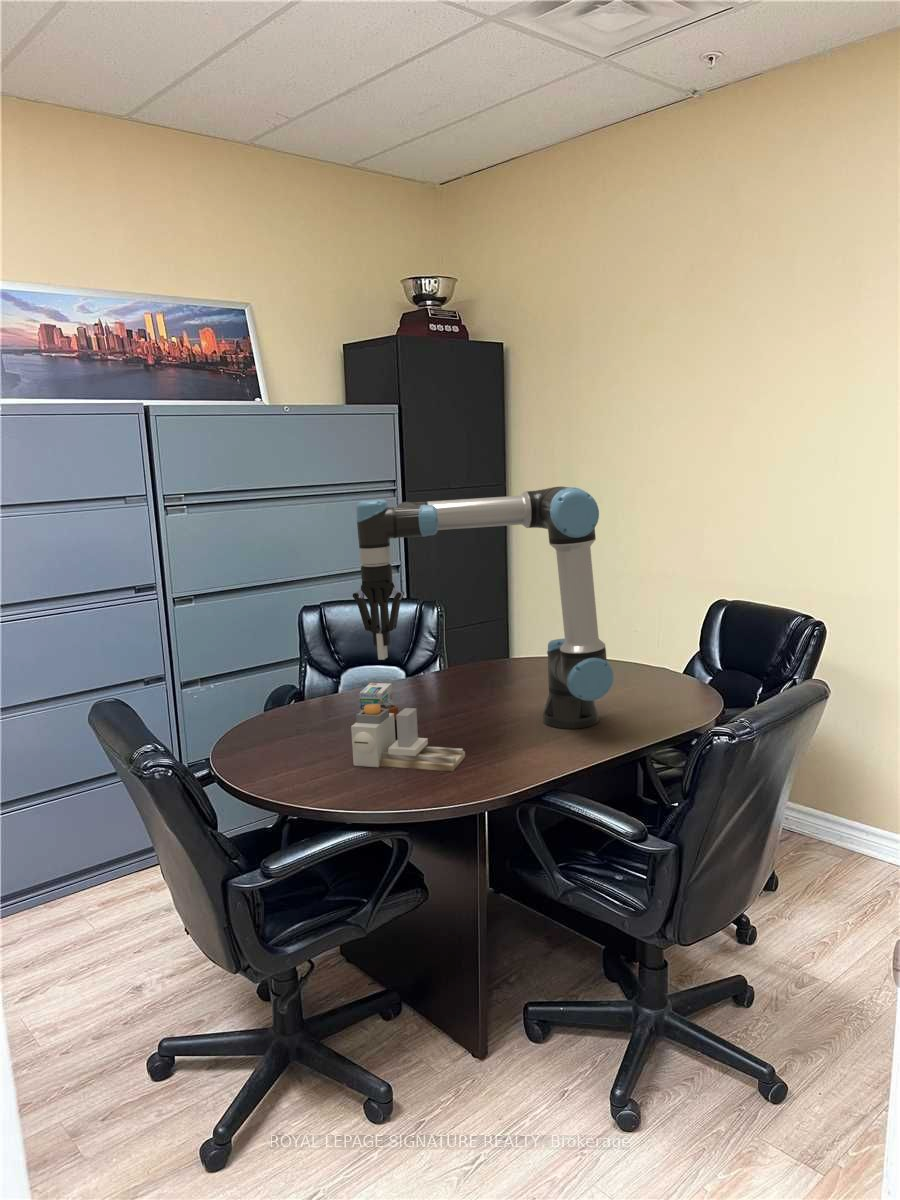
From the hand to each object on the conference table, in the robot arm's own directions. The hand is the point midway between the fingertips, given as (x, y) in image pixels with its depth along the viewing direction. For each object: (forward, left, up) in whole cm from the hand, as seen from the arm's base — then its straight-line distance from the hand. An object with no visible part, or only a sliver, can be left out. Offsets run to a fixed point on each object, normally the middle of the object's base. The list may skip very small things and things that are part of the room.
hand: (382, 658), depth 227 cm
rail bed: (-11, +3, -25) cm, 27 cm away
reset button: (+2, +3, -15) cm, 15 cm away
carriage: (-7, +3, -22) cm, 23 cm away
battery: (+5, -12, -25) cm, 28 cm away
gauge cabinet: (+2, +3, -25) cm, 25 cm away
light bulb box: (+12, -23, -25) cm, 36 cm away
